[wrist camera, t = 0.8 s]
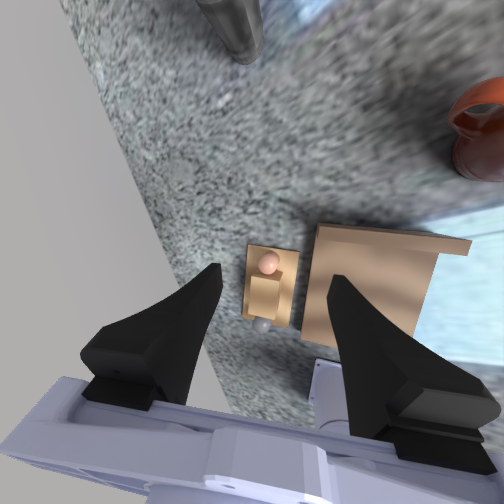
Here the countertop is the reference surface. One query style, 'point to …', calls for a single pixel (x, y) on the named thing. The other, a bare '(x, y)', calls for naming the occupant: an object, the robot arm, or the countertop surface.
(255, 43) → the beverage cup
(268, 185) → the countertop surface
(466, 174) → the mug
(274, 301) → the wooden stand
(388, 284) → the light wood stepped block
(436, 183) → the countertop surface
